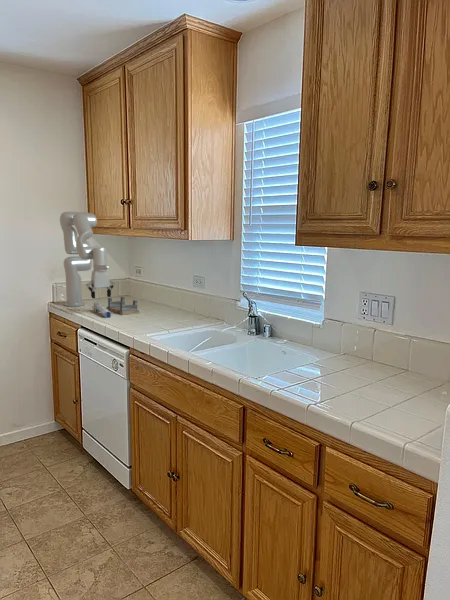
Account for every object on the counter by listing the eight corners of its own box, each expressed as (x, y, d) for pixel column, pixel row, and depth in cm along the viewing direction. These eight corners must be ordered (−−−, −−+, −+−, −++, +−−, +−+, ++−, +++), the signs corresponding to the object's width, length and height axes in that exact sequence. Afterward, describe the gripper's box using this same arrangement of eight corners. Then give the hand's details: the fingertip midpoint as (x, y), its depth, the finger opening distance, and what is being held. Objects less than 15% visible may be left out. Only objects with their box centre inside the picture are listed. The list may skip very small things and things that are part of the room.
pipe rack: (106, 309, 284) (106, 297, 283) (122, 308, 291) (122, 296, 290) (122, 315, 268) (122, 302, 267) (139, 313, 275) (139, 300, 274)
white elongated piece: (103, 311, 258) (91, 299, 278) (103, 322, 260) (91, 309, 280) (112, 311, 260) (99, 298, 281) (112, 322, 262) (99, 309, 283)
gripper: (111, 267, 274) (111, 295, 277) (83, 268, 263) (84, 298, 266) (116, 268, 269) (117, 296, 271) (88, 269, 258) (89, 299, 260)
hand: (101, 297), depth 268 cm, fingers open, 9 cm apart
